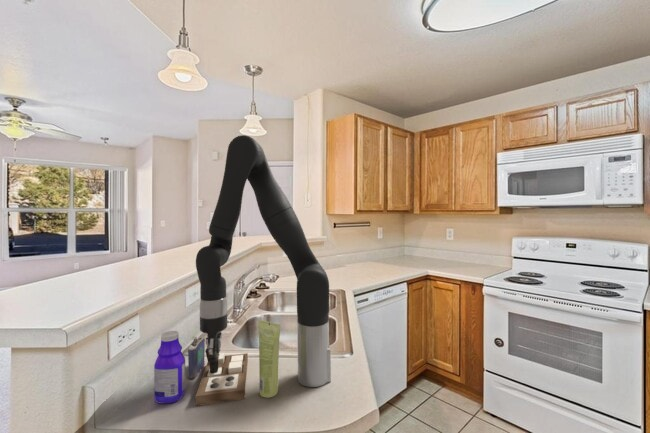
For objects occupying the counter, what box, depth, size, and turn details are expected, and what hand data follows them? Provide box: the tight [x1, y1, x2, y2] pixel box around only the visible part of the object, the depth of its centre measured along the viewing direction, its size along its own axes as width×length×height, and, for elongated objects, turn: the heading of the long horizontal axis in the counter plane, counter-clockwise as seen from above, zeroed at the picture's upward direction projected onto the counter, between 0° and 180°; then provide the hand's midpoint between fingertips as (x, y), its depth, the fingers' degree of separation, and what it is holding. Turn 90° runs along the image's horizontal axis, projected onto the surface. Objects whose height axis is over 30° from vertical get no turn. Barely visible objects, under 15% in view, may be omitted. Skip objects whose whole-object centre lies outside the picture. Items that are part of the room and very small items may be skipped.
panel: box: [195, 352, 249, 407], centre depth 85 cm, size 12×20×3 cm, turn 13°
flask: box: [187, 336, 206, 380], centre depth 90 cm, size 9×3×11 cm, turn 4°
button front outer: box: [207, 367, 222, 377], centre depth 85 cm, size 4×4×2 cm
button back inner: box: [231, 354, 243, 362], centre depth 92 cm, size 4×4×2 cm
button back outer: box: [218, 352, 226, 365], centre depth 91 cm, size 4×4×2 cm
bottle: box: [153, 330, 186, 404], centre depth 77 cm, size 7×6×17 cm
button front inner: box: [228, 361, 242, 374], centre depth 86 cm, size 4×4×2 cm
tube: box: [257, 319, 281, 399], centre depth 79 cm, size 6×5×20 cm
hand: (214, 371), depth 85 cm, fingers closed
